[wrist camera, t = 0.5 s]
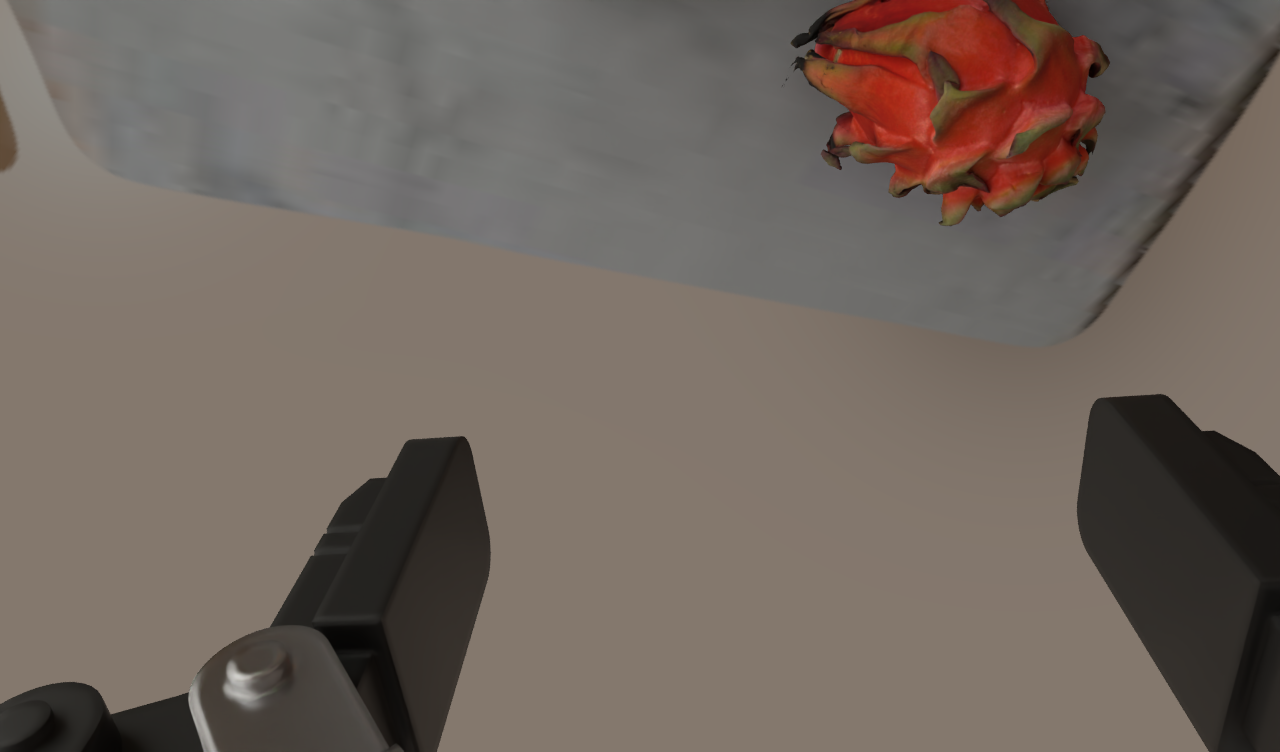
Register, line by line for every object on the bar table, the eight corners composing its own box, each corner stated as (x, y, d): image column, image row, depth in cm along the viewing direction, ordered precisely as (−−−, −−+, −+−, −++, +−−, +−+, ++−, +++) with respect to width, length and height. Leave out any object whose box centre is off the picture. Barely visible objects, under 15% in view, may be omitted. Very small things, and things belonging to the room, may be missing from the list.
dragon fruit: (1058, 104, 39) (800, -13, 38) (1210, -10, 31) (885, -164, 30) (1002, 284, 37) (730, 166, 36) (1148, 215, 29) (800, 59, 28)
